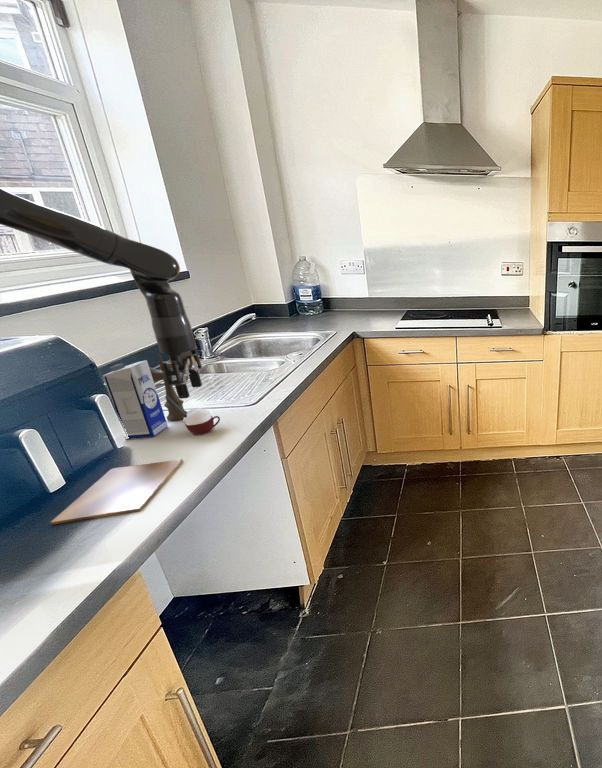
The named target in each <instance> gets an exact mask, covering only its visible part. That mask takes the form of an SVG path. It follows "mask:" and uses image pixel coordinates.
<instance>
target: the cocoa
mask: <svg viewBox="0 0 602 768" xmlns="http://www.w3.org/2000/svg"><path fill="white" fill-rule="evenodd" d="M164 399H165V400H166V399H167V400H168V401H169V402H170V403H171V404H172V405H173V406H174V407H175V408H176V409H177V410H178V411H179V412H180V413H181V414H182V415H183V416H184V418H183V422H184V425H185V427H186V429H187V430H188V432H189V433H190V434H192V435H198V434H200V435H204V434H208V433H209V432H210V431H212V430H213V428H215V427H216V426H217V425H218V424H219V423H220V421H221V417H220V416H218V415H215V416H213V415H212V413H211V412H210V411H209V410H207V409H205V408H203V407H201V408H199V407H196V408H191V409H190V410H188V411H187V414H186V413H185V412H184V411H183V410H182V409H181V408H180V407H179V406H178V405H177V404H176V403H175V402H174V401H173V400H172V399H171V398H170V397H168V396H167V395H166V394H165V398H164ZM215 419H217V421H216V422H214V420H215Z"/></svg>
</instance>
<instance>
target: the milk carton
mask: <svg viewBox="0 0 602 768" xmlns="http://www.w3.org/2000/svg"><path fill="white" fill-rule="evenodd" d="M149 367H150V365H149V362H148V359H145V360H140V361H137V362H134V363H131V364H128V365H125V364H124V363H118V364H115V365H112V366H110V367H109V370H110V372H108V373H106V374H103V375H102V378H103V382H104V384H105V387H106V390H107V389H108V390H107V392H109V393H108V395H109V398H110V397H111V398H110V400H111V399H112V401H111V403H112V402H113V404H114V406H115V409H116V411H117V413H118V415H119V417H120V419H121V421H122V423H123V425H124V428H125V429H126V432H127V434H128V437H129V439H128V440H132V439H131V438H136V439H144V438H145V439H146V438H147V439H148V438H155V437H156V436H157V435H158V434H160V433H161V432H163V431H164V430H165V429H166V428H168V427H169V426H168V422H167V418H166V415H165V413H164V409H163V406H162V404H161V400H160V397H159V394H158V391H157V388H156V385H155V384H156V383H155V384H154V381H153V378H152V375H151V372H150V368H149ZM113 404H112V405H113ZM115 409H114V410H115ZM167 426H168V427H167ZM164 428H165V429H164ZM163 429H164V430H163Z"/></svg>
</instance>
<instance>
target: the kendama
mask: <svg viewBox="0 0 602 768" xmlns="http://www.w3.org/2000/svg"><path fill="white" fill-rule="evenodd" d="M157 357H158V358H157V359H158V363H159V366H160V369H157V368H154V367H152V366H149V368H150V372H151V375H152V378H153V381H154V384H157V383H158V382H160V381H163V384H164V390H165V396H166V395H167V396H168V397H170V398H171V399H172V400H173V401H174V402H175V403H176V404H177V405H178V406H179V407H180V408H181V409H182V410H183V411H184V412H185V413H186V414H187V412H188V411H186V410H185V409H184V405H183V404H184V402H185V401H184V400H183V399H180V398H179V397H178V394H177V391H176V389H174V387H173V386H174V385H169V384H168V380H167V377H166V373H165V369H164V366H163V362H164V360H163V358H162V355H161V353H157ZM171 377H172V376H171ZM188 381H189V375H188V376H186V383H187V382H188ZM163 406H164V407H165V408H166V409H167V412H168V414H167V415H166V420H168V421H178V420H181V419H184V416H183V415H182V414H181V413H180V412H179V411H178V410H177V409H176V408H175V407H174V406H173V405H172V404H171V403H170V402H169V401H168V400H167V399H166V398H165V403H164V404H163Z"/></svg>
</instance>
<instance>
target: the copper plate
mask: <svg viewBox="0 0 602 768" xmlns="http://www.w3.org/2000/svg"><path fill="white" fill-rule="evenodd" d="M183 462H184V461H183V459H173V460H165V461H159V462H149V463H143V464H135V465H128V466H120V467H112V468H110V469H109V470H108V471H107V472H105V474H103V475H102V476H101V477H100V478H99V479H97V480H96V481H95V482H94V483H93V484H92V485H91V486H90V487H88V488H87V490H85V491H84V492H83V493H81V495H80V496H79V497H77V498H76V499H75V500H74V501H73V502H72V503H70V504H69V505H68V506H67V507H65V508H64V509H63V510H62V512H60V513H59V514H58V515H57V516H55V518H53V519H52V520H51V521H50V524H51V525H52V526H53V525H58V524H65V523H72V522H79V521H83V520H84V521H85V520H91V519H97V518H105V517H111V516H118V515H124V514H130V513H137V512H141V511H142V510H143V509H144V508H145V506H146V505H148V503H149V502H150V501H151V499H152V498H153V497H154V496H155V495H156V493H158V491H159V490H160V489H161V488H162V487H163V485H164V484H165V483H166V482H167V480H169V479H170V477H172V475H174V472H175V471H176V470H177V469H178V468H179V467H180V465H182V463H183Z"/></svg>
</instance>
